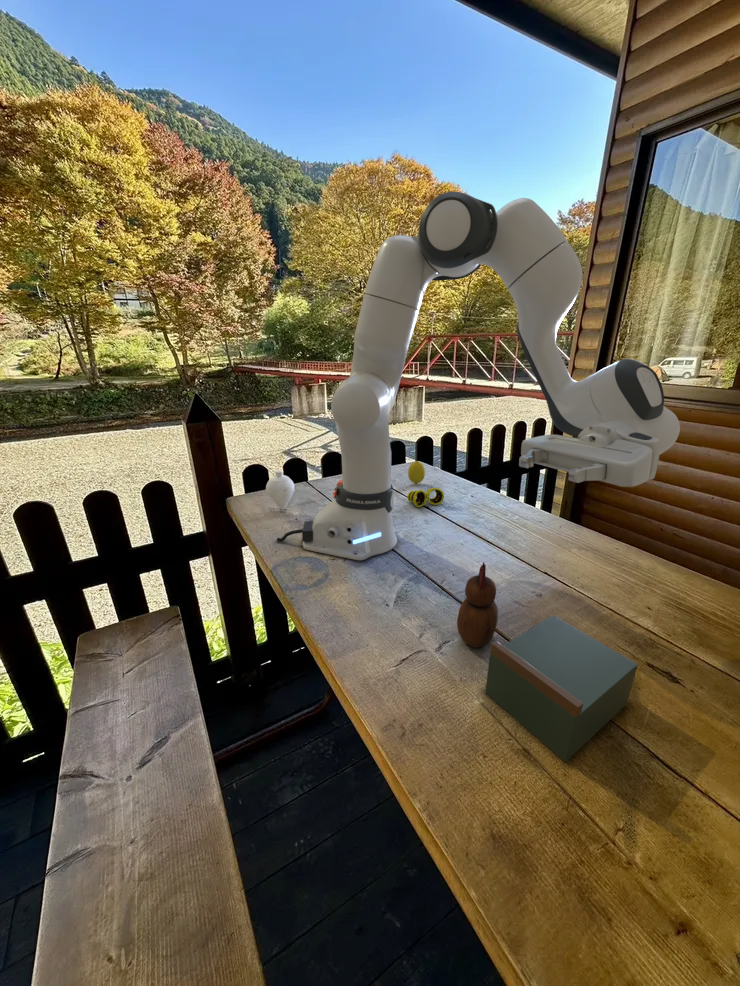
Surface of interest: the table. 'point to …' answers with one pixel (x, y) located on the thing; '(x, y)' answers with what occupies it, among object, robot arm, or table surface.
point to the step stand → (559, 683)
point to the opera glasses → (425, 497)
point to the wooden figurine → (478, 611)
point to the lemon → (416, 472)
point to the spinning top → (280, 489)
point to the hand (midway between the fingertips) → (545, 469)
